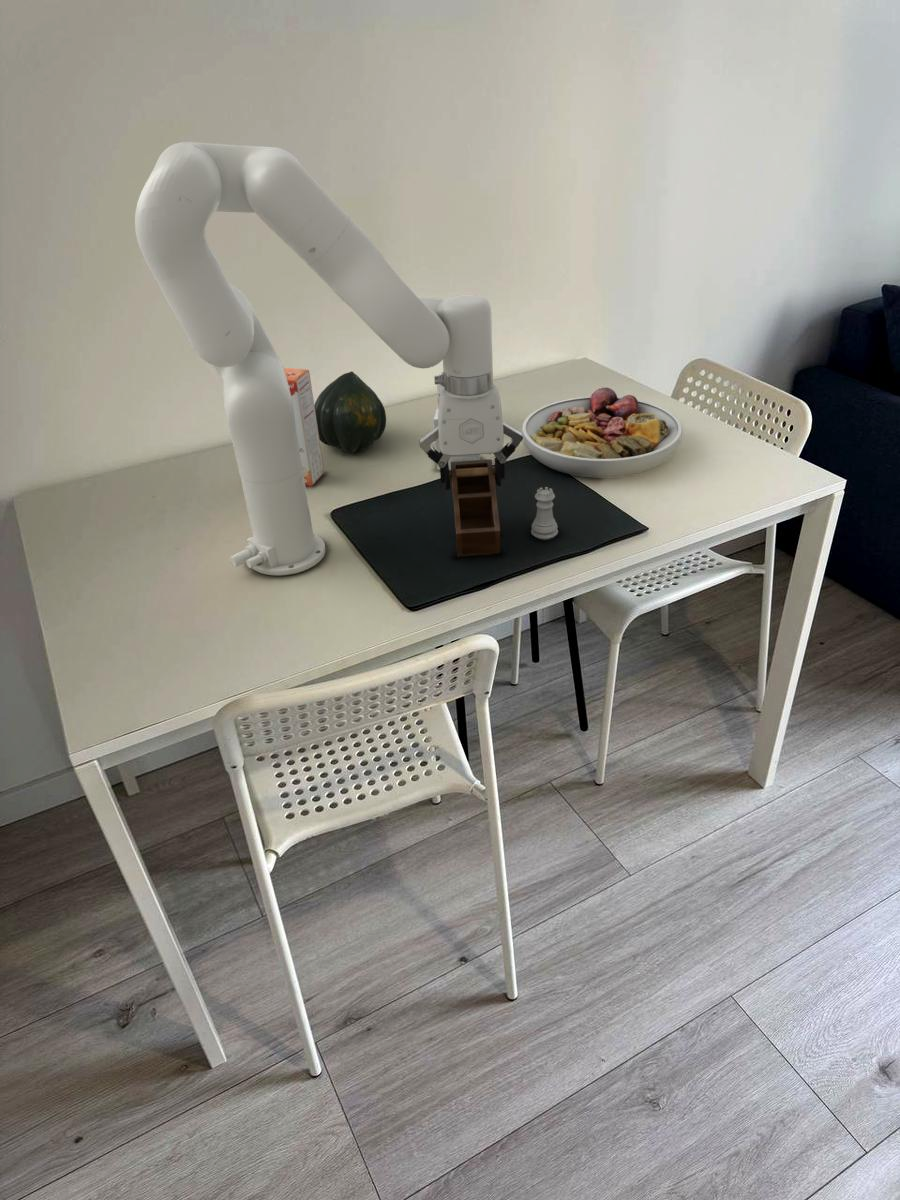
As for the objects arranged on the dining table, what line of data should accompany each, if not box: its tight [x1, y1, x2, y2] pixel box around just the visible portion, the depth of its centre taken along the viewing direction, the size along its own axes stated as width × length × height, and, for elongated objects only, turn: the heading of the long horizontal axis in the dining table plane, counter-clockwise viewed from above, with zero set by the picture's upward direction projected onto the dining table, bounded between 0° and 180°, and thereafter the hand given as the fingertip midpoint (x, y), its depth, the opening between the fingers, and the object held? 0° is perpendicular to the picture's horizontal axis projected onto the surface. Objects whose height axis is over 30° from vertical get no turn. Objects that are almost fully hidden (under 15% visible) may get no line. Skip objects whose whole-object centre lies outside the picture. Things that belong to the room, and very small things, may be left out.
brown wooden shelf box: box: [449, 458, 501, 558], centre depth 140 cm, size 15×8×6 cm, turn 2°
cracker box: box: [284, 367, 325, 487], centre depth 160 cm, size 14×6×21 cm, turn 73°
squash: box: [314, 371, 387, 454], centre depth 173 cm, size 14×15×15 cm
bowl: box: [521, 387, 683, 479], centre depth 166 cm, size 30×30×8 cm
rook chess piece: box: [530, 486, 559, 541], centre depth 141 cm, size 4×4×8 cm
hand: (472, 483), depth 142 cm, fingers closed on brown wooden shelf box, 7 cm apart
